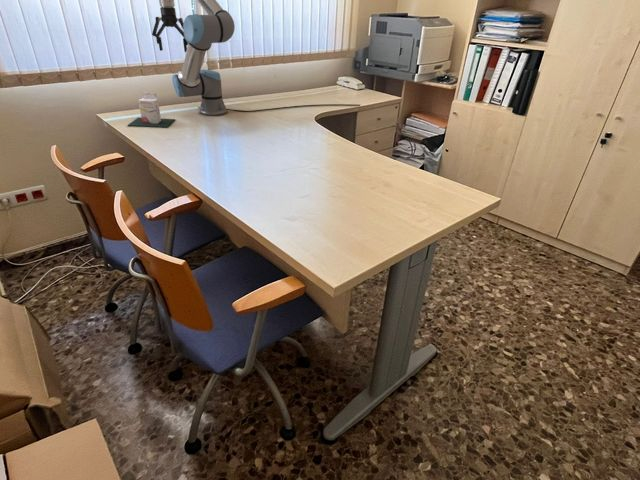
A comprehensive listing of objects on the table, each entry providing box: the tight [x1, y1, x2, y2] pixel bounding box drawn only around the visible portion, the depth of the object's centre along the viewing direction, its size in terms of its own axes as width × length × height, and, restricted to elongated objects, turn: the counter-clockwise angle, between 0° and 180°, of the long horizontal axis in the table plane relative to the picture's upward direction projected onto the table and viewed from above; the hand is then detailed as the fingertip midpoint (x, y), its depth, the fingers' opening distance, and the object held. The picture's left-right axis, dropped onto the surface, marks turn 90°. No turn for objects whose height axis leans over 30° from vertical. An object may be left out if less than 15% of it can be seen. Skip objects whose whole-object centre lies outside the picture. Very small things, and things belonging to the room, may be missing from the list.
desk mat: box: [127, 117, 176, 129], centre depth 210 cm, size 20×14×1 cm
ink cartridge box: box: [138, 91, 162, 124], centre depth 206 cm, size 9×5×15 cm, turn 84°
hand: (173, 51), depth 220 cm, fingers open, 13 cm apart
